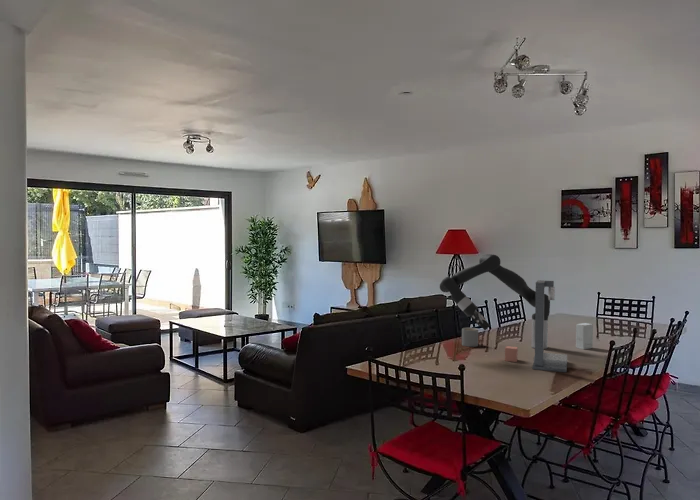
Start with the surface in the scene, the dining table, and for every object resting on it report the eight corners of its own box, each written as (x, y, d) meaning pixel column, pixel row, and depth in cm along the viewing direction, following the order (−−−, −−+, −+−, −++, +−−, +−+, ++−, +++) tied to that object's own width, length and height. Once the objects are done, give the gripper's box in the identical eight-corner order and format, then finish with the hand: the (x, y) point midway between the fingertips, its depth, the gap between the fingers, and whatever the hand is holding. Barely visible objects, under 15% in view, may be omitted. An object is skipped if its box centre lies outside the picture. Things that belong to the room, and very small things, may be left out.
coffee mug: (474, 347, 318) (474, 330, 317) (459, 345, 323) (459, 329, 323) (482, 343, 328) (482, 327, 328) (467, 341, 334) (467, 326, 334)
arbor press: (535, 359, 286) (536, 279, 285) (567, 362, 280) (568, 280, 279) (532, 369, 264) (533, 282, 263) (566, 372, 258) (567, 283, 257)
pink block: (506, 358, 287) (506, 346, 287) (517, 359, 285) (517, 347, 285) (505, 360, 282) (505, 348, 282) (516, 361, 280) (516, 349, 280)
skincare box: (584, 346, 321) (585, 322, 321) (593, 348, 316) (593, 324, 315) (575, 347, 317) (575, 323, 317) (583, 349, 312) (583, 325, 312)
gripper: (469, 303, 285) (490, 325, 281) (474, 300, 298) (494, 321, 294) (459, 312, 287) (480, 334, 283) (464, 309, 300) (484, 330, 296)
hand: (487, 328), depth 288 cm, fingers open, 8 cm apart
